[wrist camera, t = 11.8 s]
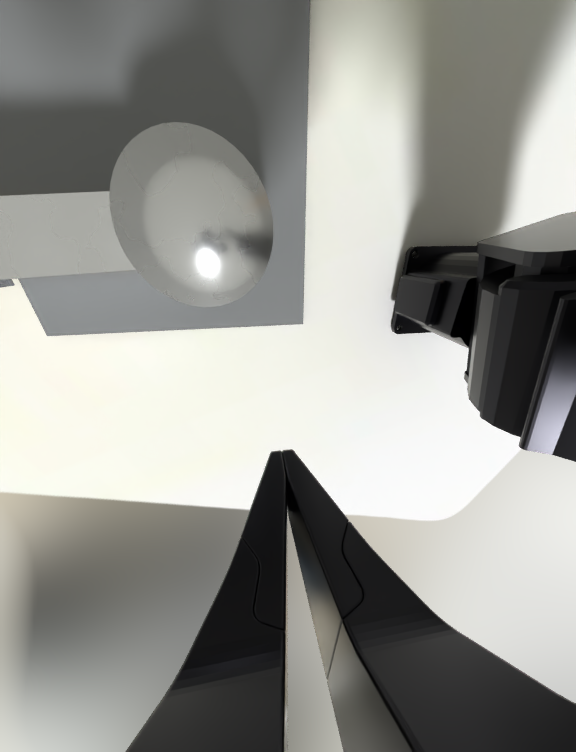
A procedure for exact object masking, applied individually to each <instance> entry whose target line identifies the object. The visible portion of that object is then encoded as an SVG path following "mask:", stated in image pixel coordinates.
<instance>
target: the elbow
mask: <svg viewBox="0 0 576 752" xmlns="http://www.w3.org/2000/svg"><path fill="white" fill-rule="evenodd" d="M272 246H273V218H272V212H271V207H270V203H269V200H268V197H267V194H266V191H265V189H264V186H263V184H262V182H261V180H260V178H259V176H258V175H257V173H256V172H255V170H254V168H253V167H252V165H251V164H250V163H249V162H248V160H247V159H246V158H245V157H244V155H243V154H242V153H241V152H240V151H239V150H238V149H237V148H236V147H235V146H234V145H232V144H231V143H230V142H228V141H227V140H226V139H225V138H223V137H222V136H220V135H218V134H216V133H215V132H213V131H211V130H209V129H206V128H204V127H201V126H198V125H194V124H190V123H182V122H170V123H162V124H159V125H155V126H152V127H150V128H148V129H146V130H144V131H142V132H140V133H139V134H138V135H137V136H135V137H134V138H133V139H132V140H131V141H130V142H129V143H128V144H127V145H126V147H125V148H124V149H123V151H122V152H121V154H120V156H119V157H118V159H117V162H116V164H115V167H114V169H113V173H112V178H111V182H110V191H102V192H79V193H55V194H32V195H9V196H0V287H6V286H13V285H14V283H13V281H12V279H17V278H31V277H44V276H58V275H72V274H85V273H99V272H113V271H126V270H137V271H138V273H139V274H140V275H141V276H142V277H143V278H144V279H145V280H146V281H147V282H148V283H149V284H150V285H152V286H153V287H154V288H155V289H157V290H158V291H160V292H161V293H163V294H164V295H166V296H168V297H170V298H172V299H174V300H176V301H179V302H182V303H184V304H188V305H192V306H199V307H215V306H221V305H225V304H228V303H231V302H233V301H235V300H237V299H239V298H241V297H242V296H244V295H245V294H246V293H248V292H249V291H250V290H251V289H252V288H253V287H254V286H255V285H256V284H257V282H258V281H259V280H260V278H261V277H262V275H263V273H264V271H265V269H266V267H267V265H268V262H269V259H270V256H271V251H272Z"/></svg>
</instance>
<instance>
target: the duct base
mask: <svg viewBox="0 0 576 752" xmlns="http://www.w3.org/2000/svg"><path fill="white" fill-rule="evenodd" d="M309 22H310V0H0V196H9V195H32V194H55V193H79V192H102V191H110V182H111V178H112V173H113V169H114V167H115V164H116V162H117V159H118V157H119V156H120V154H121V152H122V151H123V149H124V148H125V147H126V145H127V144H128V143H129V142H130V141H131V140H132V139H133V138H134V137H135V136H137V135H138V134H139V133H140V132H142V131H144V130H146V129H148V128H150V127H152V126H155V125H159V124H162V123H170V122H182V123H190V124H194V125H198V126H201V127H204V128H206V129H209V130H211V131H213V132H215V133H216V134H218V135H220V136H222V137H223V138H225V139H226V140H227V141H228V142H230V143H231V144H232V145H234V146H235V147H236V148H237V149H238V150H239V151H240V152H241V153H242V154H243V155H244V157H245V158H246V159H247V160H248V162H249V163H250V164H251V165H252V167H253V168H254V170H255V172H256V173H257V175H258V176H259V178H260V180H261V182H262V184H263V186H264V189H265V191H266V194H267V197H268V200H269V203H270V207H271V212H272V218H273V246H272V251H271V256H270V259H269V262H268V265H267V267H266V269H265V271H264V273H263V275H262V277H261V278H260V280H259V281H258V282H257V284H256V285H255V286H254V287H253V288H252V289H251V290H250V291H249V292H248V293H246V294H245V295H244V296H242V297H241V298H239V299H237V300H235V301H233V302H231V303H228V304H225V305H221V306H215V307H199V306H192V305H188V304H184V303H182V302H179V301H176V300H174V299H172V298H170V297H168V296H166V295H164V294H163V293H161V292H160V291H158V290H157V289H155V288H154V287H153V286H152V285H150V284H149V283H148V282H147V281H146V280H145V279H144V278H143V277H142V276H141V275H140V274H139V273H138V271H137V270H126V271H113V272H99V273H85V274H72V275H58V276H44V277H31V278H18V279H19V281H20V283H21V285H22V287H23V289H24V291H25V293H26V295H27V297H28V299H29V301H30V303H31V305H32V307H33V309H34V311H35V313H36V315H37V317H38V319H39V321H40V323H41V325H42V327H43V329H44V331H45V333H46V335H47V336H60V335H81V334H102V333H123V332H144V331H165V330H186V329H208V328H229V327H250V326H271V325H292V324H303V303H304V256H305V209H306V162H307V115H308V69H309Z"/></svg>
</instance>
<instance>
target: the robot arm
mask: <svg viewBox="0 0 576 752" xmlns="http://www.w3.org/2000/svg"><path fill="white" fill-rule="evenodd" d="M414 251H415V252H416V255H415V257H412V254H413V252H414ZM394 311H395V313H394V318H393V323H392V331H393V332H394V333H396V334H407V333H425V332H433V333H435V334H438V335H440V336H442V337H444V338H447V339H449V340H451V341H453V342H456V343H458V344H460V345H462V346H465V347H467V348H469V354H468V363H467V371H465V375H464V379H465V381H466V382H467V383H468V388H467V390H468V396H469V400H470V401H471V402H472V403H473V405H474V406H475V407H476V408H477V410H478V411H480V417H481V418H482V419H484V420H485V421H487V422H488V423H490V424H491V425H493V426H495V427H497V428H499V429H501V430H504V431H506V432H508V433H510V434H512V435H515V436H519V437H521V439H520V443H519V447H520V448H522V449H524V450H528V451H534V452H540V453H546V454H552V455H555V456H559V457H562V458H565V459H568V460H572V461H575V462H576V212H571V213H565V214H561V215H558V216H555V217H552V218H549V219H546V220H543V221H540V222H537V223H534V224H531V225H528V226H525V227H522V228H518V229H515V230H512V231H509V232H506V233H503V234H500V235H497V236H494V237H491V238H488V239H485V240H482V241H479V242H478V244H477V246H429V247H411V248H410V249H409V250H408V251H407V253H406V258H405V263H404V268H403V273H402V277H401V278H400V281H399V287H398V292H397V297H396V302H395V307H394ZM399 325H400V328H399V329H398V330H397V327H398V326H399ZM287 511H288V516H289V521H290V525H291V529H292V534H293V538H294V542H295V546H296V550H297V555H298V559H299V563H300V568H301V572H302V576H303V580H304V585H305V588H306V593H307V597H308V601H309V606H310V610H311V614H312V619H313V623H314V627H315V632H316V635H317V640H318V644H319V649H320V653H321V657H322V661H323V666H324V670H325V674H326V678H327V680H328V681H327V683H328V687H329V691H330V696H331V700H332V704H333V708H334V712H335V717H336V721H337V725H338V729H339V734H340V738H341V742H342V747H343V751H344V752H576V703H574V702H571V701H570V700H568V699H566V698H564V697H563V696H561V695H559V694H557V693H555V692H554V691H552V690H551V689H549V688H547V687H546V686H544V685H543V684H541V683H539V682H538V681H536V680H535V679H533V678H532V677H530V676H528V675H527V674H525V673H523V672H522V671H520V670H519V669H517V668H515V667H514V666H512V665H511V664H509V663H508V662H506V661H504V660H503V659H501V658H500V657H498V656H496V655H495V654H493V653H492V652H490V651H488V650H487V649H485V648H484V647H482V646H481V645H479V644H477V643H476V642H474V641H472V640H471V639H469V638H468V637H466V636H465V635H463V634H461V633H460V632H458V631H457V630H455V629H454V628H453V627H451V626H450V625H448V624H447V623H446V622H445V621H443V620H442V619H441V618H440V617H438V616H437V615H436V614H435V613H434V612H433V611H432V610H431V609H430V608H429V607H428V606H427V605H426V604H425V603H424V602H423V601H422V600H421V599H420V598H419V597H418V596H417V595H416V594H415V593H414V592H413V591H412V590H411V589H410V588H409V587H408V585H407V584H406V583H405V582H404V581H403V580H402V579H401V578H400V577H399V576H398V575H397V574H396V573H395V572H394V571H393V570H392V569H391V568H390V567H389V566H388V565H387V564H386V563H385V562H384V561H383V560H382V558H381V557H380V556H379V555H378V554H377V553H376V552H375V551H374V550H373V549H372V548H371V547H370V545H369V544H368V543H367V542H366V541H365V539H364V538H363V537H362V536H361V535H360V534H359V532H358V531H357V530H356V529H355V528H354V526H353V525H352V523H351V522H348V519H347V517H346V516H345V515H344V514H343V512H342V511H341V510H340V508H339V507H338V506H337V505H336V503H335V502H334V501H333V500H332V498H331V497H330V496H329V495H328V493H327V492H326V491H325V490H324V488H323V487H322V486H321V485H320V483H319V482H318V481H317V479H316V478H315V477H314V476H313V474H312V473H311V472H310V471H309V469H308V468H307V467H306V466H305V464H304V463H303V462H302V461H301V459H300V458H299V457H298V456H297V454H296V453H295V452H294V451H293V450H292V449H290V450H283V451H282V452H281V451H272V452H271V453H270V456H269V458H268V461H267V464H266V467H265V470H264V472H263V475H262V478H261V481H260V484H259V486H258V489H257V492H256V495H255V498H254V500H253V503H252V506H251V509H250V512H249V515H248V517H247V520H246V523H245V526H244V528H243V531H242V534H241V538H240V540H239V542H238V545H237V547H236V551H235V553H234V556H233V558H232V561H231V563H230V566H229V568H228V571H227V573H226V575H225V578H224V580H223V582H222V584H221V586H220V589H219V591H218V593H217V595H216V597H215V599H214V601H213V604H212V606H211V608H210V610H209V612H208V614H207V616H206V618H205V620H204V622H203V624H202V626H201V628H200V630H199V632H198V635H197V637H196V639H195V641H194V643H193V645H192V647H191V649H190V651H189V653H188V655H187V657H186V659H185V661H184V663H183V665H182V667H181V669H180V670H179V673H178V674H177V676H176V678H175V679H174V681H173V683H172V685H171V686H170V688H169V689H168V691H167V692H166V694H165V696H164V697H163V699H162V700H161V702H160V703H159V704H158V706H157V707H156V709H155V710H154V711H153V713H152V714H151V716H150V717H149V719H148V720H147V722H146V723H145V724H144V726H143V728H142V729H141V730H140V732H139V733H138V734H137V736H136V737H135V739H134V740H133V742H132V743H131V745H130V746H129V747H128V749H127V750H126V752H288V717H287V716H288V691H287V687H288V686H287V680H288V679H287V678H288V677H287V675H288V673H287Z"/></svg>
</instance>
